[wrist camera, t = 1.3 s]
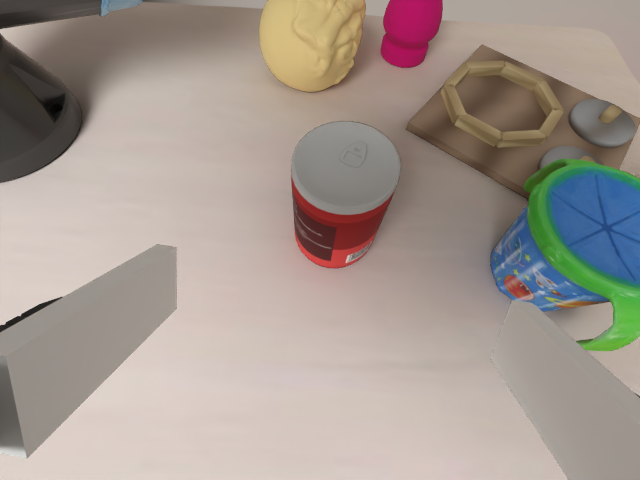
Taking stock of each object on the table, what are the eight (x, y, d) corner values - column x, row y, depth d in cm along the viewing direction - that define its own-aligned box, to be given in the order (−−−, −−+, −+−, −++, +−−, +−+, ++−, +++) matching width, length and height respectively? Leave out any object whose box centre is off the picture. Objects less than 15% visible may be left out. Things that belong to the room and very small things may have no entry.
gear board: (405, 128, 39) (414, 105, 36) (478, 51, 46) (491, 26, 43) (584, 231, 33) (613, 214, 30) (634, 125, 41) (661, 102, 38)
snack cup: (470, 197, 35) (529, 125, 26) (569, 216, 34) (666, 150, 25) (471, 343, 28) (553, 317, 19) (595, 370, 27) (742, 357, 18)
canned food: (378, 210, 33) (408, 131, 24) (363, 280, 30) (393, 222, 20) (307, 193, 34) (308, 109, 24) (285, 260, 30) (275, 194, 21)
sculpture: (330, 117, 39) (339, 25, 29) (247, 83, 41) (230, -14, 31) (368, 65, 44) (386, -29, 34) (292, 36, 46) (289, -60, 36)
